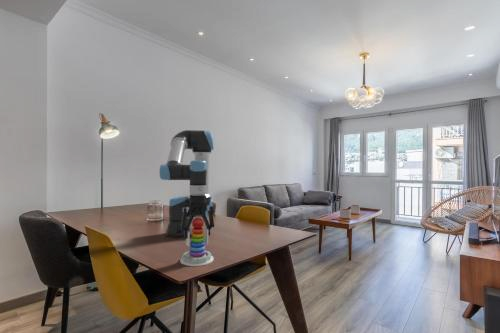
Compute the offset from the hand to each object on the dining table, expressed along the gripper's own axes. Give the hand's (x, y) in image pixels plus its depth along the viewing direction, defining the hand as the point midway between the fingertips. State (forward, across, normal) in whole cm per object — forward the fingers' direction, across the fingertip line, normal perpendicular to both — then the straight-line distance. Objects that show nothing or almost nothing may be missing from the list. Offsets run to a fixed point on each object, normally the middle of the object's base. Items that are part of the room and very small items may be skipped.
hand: (197, 244), depth 121 cm
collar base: (+7, 0, 0) cm, 7 cm away
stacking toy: (+7, 0, 0) cm, 7 cm away
